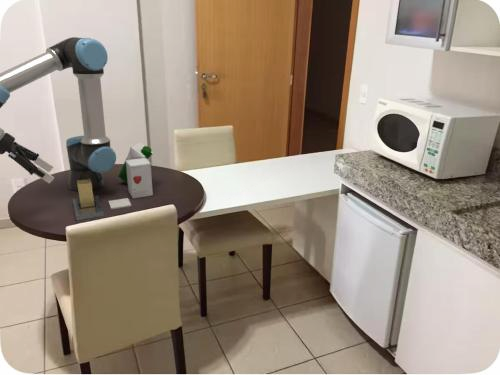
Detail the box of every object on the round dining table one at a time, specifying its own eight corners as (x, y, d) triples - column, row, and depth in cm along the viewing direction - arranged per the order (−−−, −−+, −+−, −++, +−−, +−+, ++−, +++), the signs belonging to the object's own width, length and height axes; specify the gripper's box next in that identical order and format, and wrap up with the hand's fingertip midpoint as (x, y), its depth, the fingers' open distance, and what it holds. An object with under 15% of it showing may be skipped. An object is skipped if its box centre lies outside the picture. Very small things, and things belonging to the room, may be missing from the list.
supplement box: (132, 199, 182) (129, 165, 176) (128, 192, 189) (124, 159, 184) (153, 195, 185) (150, 162, 180) (148, 188, 193) (145, 157, 187)
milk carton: (129, 187, 195) (145, 154, 185) (115, 175, 196) (129, 142, 186) (141, 181, 203) (157, 149, 193) (127, 170, 204) (142, 137, 194)
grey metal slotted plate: (73, 203, 177) (72, 198, 176) (98, 199, 181) (97, 195, 180) (76, 220, 161) (75, 215, 161) (103, 216, 165) (103, 211, 165)
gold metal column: (81, 208, 172) (76, 180, 168) (93, 206, 174) (90, 178, 170) (82, 213, 168) (77, 184, 164) (95, 210, 170) (91, 182, 166)
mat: (108, 202, 178) (108, 200, 178) (128, 199, 181) (127, 198, 181) (111, 209, 171) (111, 208, 171) (131, 206, 174) (131, 204, 174)
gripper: (-6, 139, 160) (44, 172, 171) (-13, 157, 139) (45, 193, 150) (7, 124, 160) (57, 158, 171) (2, 140, 139) (59, 177, 150)
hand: (51, 175), depth 161 cm, fingers open, 13 cm apart
